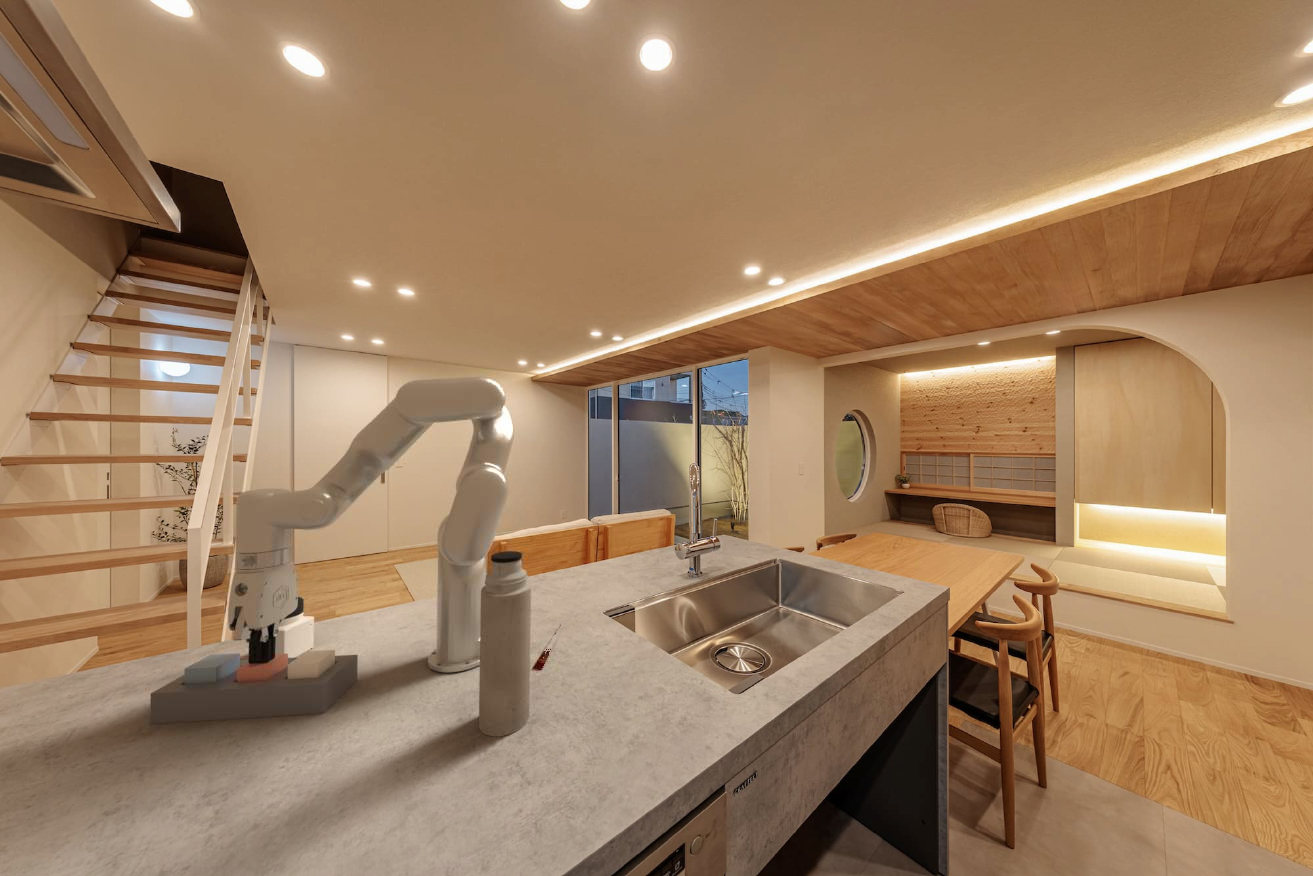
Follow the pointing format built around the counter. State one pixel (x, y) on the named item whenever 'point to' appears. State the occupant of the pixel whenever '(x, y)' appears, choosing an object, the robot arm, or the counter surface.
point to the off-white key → (311, 664)
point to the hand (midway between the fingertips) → (261, 661)
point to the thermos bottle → (504, 646)
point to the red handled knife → (541, 660)
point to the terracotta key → (262, 669)
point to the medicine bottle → (295, 633)
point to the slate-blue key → (212, 668)
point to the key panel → (253, 695)
